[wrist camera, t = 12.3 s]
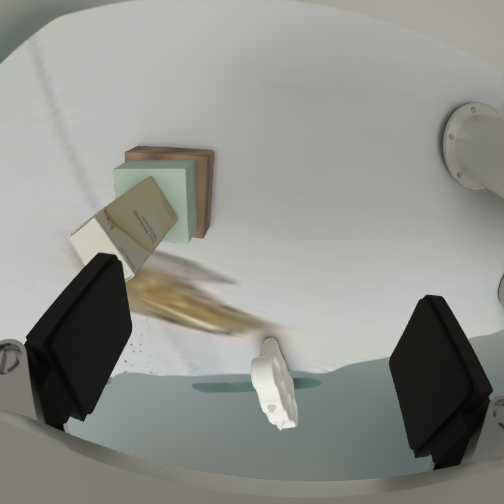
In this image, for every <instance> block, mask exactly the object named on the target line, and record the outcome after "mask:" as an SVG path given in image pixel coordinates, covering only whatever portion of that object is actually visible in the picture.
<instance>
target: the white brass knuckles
mask: <svg viewBox="0 0 504 504" xmlns="http://www.w3.org/2000/svg"><path fill="white" fill-rule="evenodd" d="M251 378H252V383H253V387H254V388H255V389H256V391H257V393H258V396H259V400H260V405H261V407H262V410H263V412H264V413H266V414H267V416H268V419H269V422H270V423H272V424H276V425H277V427H278V429H280V431H281V430H282V429H283V428H291V427H296V426H297V424H298V410H297V405H296V400H295V395H294V383H293V378H292V377H291V376H290V374H289V371H288V369H287V365H286V361H285V360H284V359H283V357H282V354H281V352H280V349H279V344H278V342H277V341H276V340H275V339H274V338H272V337H270V338H267V339H266V340H265V341H264V342H263V344H262V348H261V351H260V357H257V358H254V359H253V360H252V363H251Z"/></svg>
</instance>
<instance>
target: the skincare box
mask: <svg viewBox="0 0 504 504" xmlns="http://www.w3.org/2000/svg"><path fill="white" fill-rule="evenodd" d="M177 220H178V218H177V217H176V215H175V213H174V212H173V210H172V208H171V207H170V205H169V203H168V202H167V200H166V199H165V197H164V195H163V194H162V192H161V191H160V189H159V187H158V186H157V184H156V183H155V181H154V179H153V178H152V176H149V177H148V178H146V179H144V180H143V181H141V182H140V183H138V184H137V185H135V186H133V187H132V188H131V189H129V190H128V191H126V192H125V193H123V194H122V195H121V196H119V197H118V198H116V199H115V200H114V201H113V202H111V203H110V204H109V205H107V206H106V207H104V208H103V209H102V210H100V211H99V212H98V213H97V214H95V215H94V216H93V217H91V218H90V219H89V220H88V221H86V222H85V223H84V224H83V225H81V226H80V227H79V228H78V229H76V230H75V231H74V232H72V233H71V234H70V235H69V236H68V237H67V240H68V242H69V243H70V244H71V246H72V247H73V249H74V250H75V252H76V253H77V254H78V256H79V257H80V259H81V260H82V262H83V263H84V265H85V266H86V265H87V264H88V263H89V262H90V261H91V259H92V258H93V257H94V256H95V255H96V254H97V253H99V252H102V253H108V254H115V255H116V256H117V257H118V260H121V261H122V264H123V271H124V278H125V281H127V280H129V279H131V278H132V277H134V276H135V275H136V273H137V272H138V271H139V269H140V268H141V267H142V266H143V264H144V263H145V262H146V260H147V259H148V258H149V256H150V255H151V254H152V252H153V251H154V250H155V248H156V247H157V246H158V245H159V243H160V242H161V241H162V239H163V238H164V237H165V235H166V234H167V233H168V232H169V230H170V229H171V228H172V226H173V225H174V224H175V223H176V221H177Z"/></svg>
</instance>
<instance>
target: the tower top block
mask: <svg viewBox="0 0 504 504" xmlns="http://www.w3.org/2000/svg"><path fill="white" fill-rule="evenodd" d="M113 175H114V185H115V194H116V198H118V197H119V196H121V195H122V194H123V193H125V192H126V191H128V190H129V189H131V188H132V187H133V186H135V185H137V184H138V183H140V182H141V181H143V180H144V179H146V178H148V177H149V176H152V178H153V179H154V181H155V183H156V184H157V186H158V187H159V189H160V191H161V192H162V194H163V195H164V197H165V199H166V200H167V202H168V203H169V205H170V207H171V208H172V210H173V212H174V213H175V215H176V217H177V218H178V220H177V221H176V223H175V224H174V225H173V226H172V228H171V229H170V230H169V232H168V233H167V234H166V235H165V237H164V238H163V239H162V241H165V242H179V243H189V242H190V240H191V238H192V237H193V235H194V233H195V231H196V229H197V228H198V225H197V194H196V160H129V161H127V162H125V163H123V164H122V165H120V166H118V167H116V168H114V169H113Z"/></svg>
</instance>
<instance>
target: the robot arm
mask: <svg viewBox="0 0 504 504" xmlns="http://www.w3.org/2000/svg"><path fill="white" fill-rule="evenodd" d="M449 135H450V137H449ZM443 153H444V158H445V162H446V164H447V167H448V169H449V171H450V173H451V174H452V176H453V177H454V178H455V179H456V180H457V181H458V182H459V183H460V184H462V185H463V186H465V187H467V188H469V189H473V190H483V189H486V188H488V189H489V190H491V191H493V192H494V193H496V194H497V195H499V196H500V197H502V198H503V199H504V120H503V119H502V117H501V116H500V115H499V114H498V113H497V112H496V111H495V110H494V109H493V108H491V107H490V106H487V105H485V104H481V103H469V104H466V105H463V106H462V107H460V108H458V109H457V110H456V111H455V112H454V113H453V115H452V116H451V118H450V119H449V121H448V123H447V126H446V128H445V133H444V138H443ZM131 333H132V321H131V316H130V310H129V304H128V298H127V292H126V285H125V278H124V271H123V264H122V261H121V260H118V257H117V256H116V255H115V254H108V253H102V252H99V253H97V254H96V255H95V256H94V257H93V258H92V259H91V261H90V262H89V263H88V264H87V265H86V266H85V267H84V268H83V269H82V270H81V271H80V273H79V274H78V275H77V276H76V277H75V278H74V279H73V280H72V282H71V283H70V284H69V285H68V286H67V287H66V288H65V290H64V291H63V292H62V293H61V294H60V295H59V297H58V298H57V299H56V300H55V301H54V302H53V304H52V305H51V306H50V307H49V308H48V310H47V311H46V312H45V313H44V315H43V316H42V317H41V318H40V320H39V321H38V322H37V323H36V325H35V326H34V327H33V328H32V330H31V331H30V332H29V333H28V335H27V336H26V339H27V341H26V343H25V344H24V345H23V344H22V343H21V342H19V341H17V340H14V339H6V340H2V341H0V504H504V396H496V397H494V398H493V399H492V400H491V401H490V399H489V397H488V396H489V395H490V394H491V393H492V392H493V389H492V387H491V384H490V382H489V380H488V378H487V376H486V374H485V372H484V370H483V368H482V366H481V364H480V362H479V360H478V358H477V356H476V354H475V352H474V350H473V348H472V346H471V344H470V343H469V341H468V339H467V337H466V335H465V333H464V332H463V330H462V328H461V326H460V325H459V323H458V321H457V319H456V318H455V316H454V314H453V312H452V311H451V309H450V307H449V306H448V304H447V302H446V301H445V299H444V298H443V297H442V296H435V295H426V296H424V298H423V299H420V300H419V302H418V303H417V306H416V308H415V310H414V312H413V314H412V316H411V318H410V320H409V322H408V324H407V326H406V328H405V330H404V332H403V334H402V336H401V338H400V340H399V342H398V344H397V346H396V348H395V349H394V351H393V353H392V355H391V357H390V360H389V367H390V371H391V374H392V378H393V381H394V385H395V388H396V392H397V396H398V400H399V404H400V408H401V412H402V416H403V420H404V425H405V429H406V433H407V438H408V442H409V446H410V448H411V449H412V450H414V454H415V458H419V457H425V456H429V455H430V454H431V456H432V461H431V463H430V465H429V467H428V469H427V471H426V472H422V473H416V474H410V475H403V476H397V477H388V478H379V479H369V480H357V481H356V480H355V481H334V482H333V481H332V482H297V481H275V480H261V479H249V478H241V477H233V476H225V475H218V474H212V473H206V472H200V471H194V470H190V469H184V468H179V467H175V466H170V465H166V464H162V463H158V462H154V461H150V460H146V459H142V458H139V457H135V456H132V455H129V454H125V453H122V452H119V451H116V450H113V449H110V448H107V447H103V446H101V445H98V444H95V443H92V442H89V441H86V440H84V439H81V438H78V437H76V436H73V435H71V434H70V433H69V430H68V426H67V421H68V419H69V417H73V418H75V419H78V420H80V421H83V422H84V420H85V418H86V415H87V414H91V413H92V412H93V410H94V408H95V406H96V404H97V402H98V400H99V398H100V396H101V394H102V391H103V389H104V387H105V385H106V383H107V381H108V379H109V377H110V375H111V373H112V371H113V369H114V367H115V365H116V363H117V361H118V359H119V357H120V355H121V353H122V351H123V349H124V347H125V345H126V343H127V341H128V339H129V338H130V335H131Z"/></svg>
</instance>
